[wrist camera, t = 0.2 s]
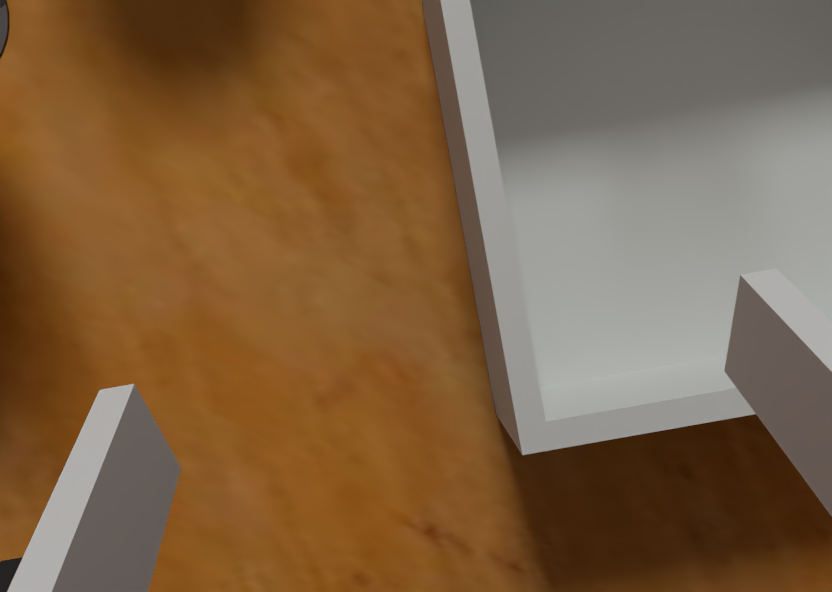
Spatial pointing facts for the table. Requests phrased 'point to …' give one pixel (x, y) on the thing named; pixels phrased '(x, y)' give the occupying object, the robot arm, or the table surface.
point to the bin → (631, 195)
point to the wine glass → (3, 24)
